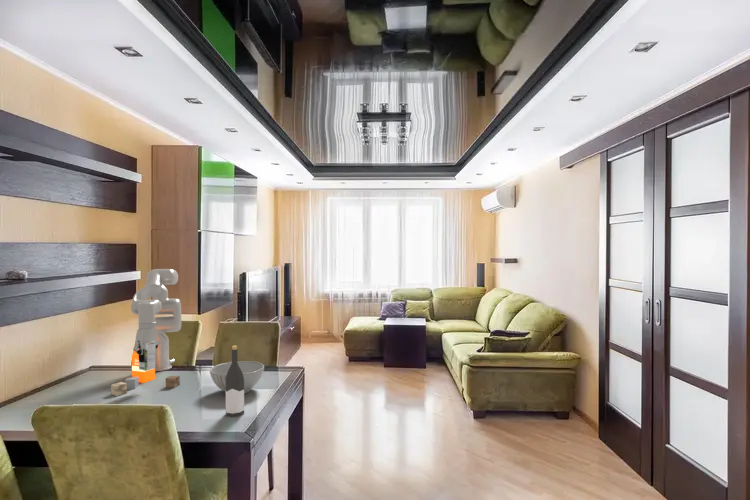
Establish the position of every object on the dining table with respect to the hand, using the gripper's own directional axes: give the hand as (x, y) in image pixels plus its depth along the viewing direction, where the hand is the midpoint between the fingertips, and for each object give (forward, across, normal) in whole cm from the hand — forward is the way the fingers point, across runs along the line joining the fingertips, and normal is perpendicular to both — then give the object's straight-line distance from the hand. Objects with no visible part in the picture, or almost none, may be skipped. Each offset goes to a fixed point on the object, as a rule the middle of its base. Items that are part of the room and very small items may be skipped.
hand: (147, 360), depth 231 cm
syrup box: (+5, 0, 0) cm, 5 cm away
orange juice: (+16, -12, -16) cm, 26 cm away
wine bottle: (+15, +12, +64) cm, 67 cm away
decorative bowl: (+15, -14, +46) cm, 50 cm away
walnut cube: (+16, -9, +8) cm, 20 cm away
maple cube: (+16, +10, -8) cm, 20 cm away
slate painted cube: (+16, 0, -12) cm, 20 cm away
